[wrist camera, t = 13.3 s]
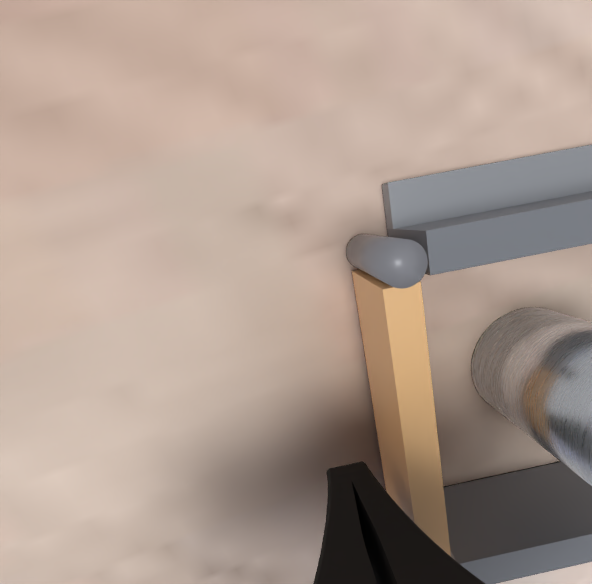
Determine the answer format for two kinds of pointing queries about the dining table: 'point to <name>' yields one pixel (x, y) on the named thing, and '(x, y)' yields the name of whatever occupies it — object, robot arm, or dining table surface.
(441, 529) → the gate
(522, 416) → the steel cylinder
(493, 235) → the housing
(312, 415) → the dining table surface
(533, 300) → the dining table surface
